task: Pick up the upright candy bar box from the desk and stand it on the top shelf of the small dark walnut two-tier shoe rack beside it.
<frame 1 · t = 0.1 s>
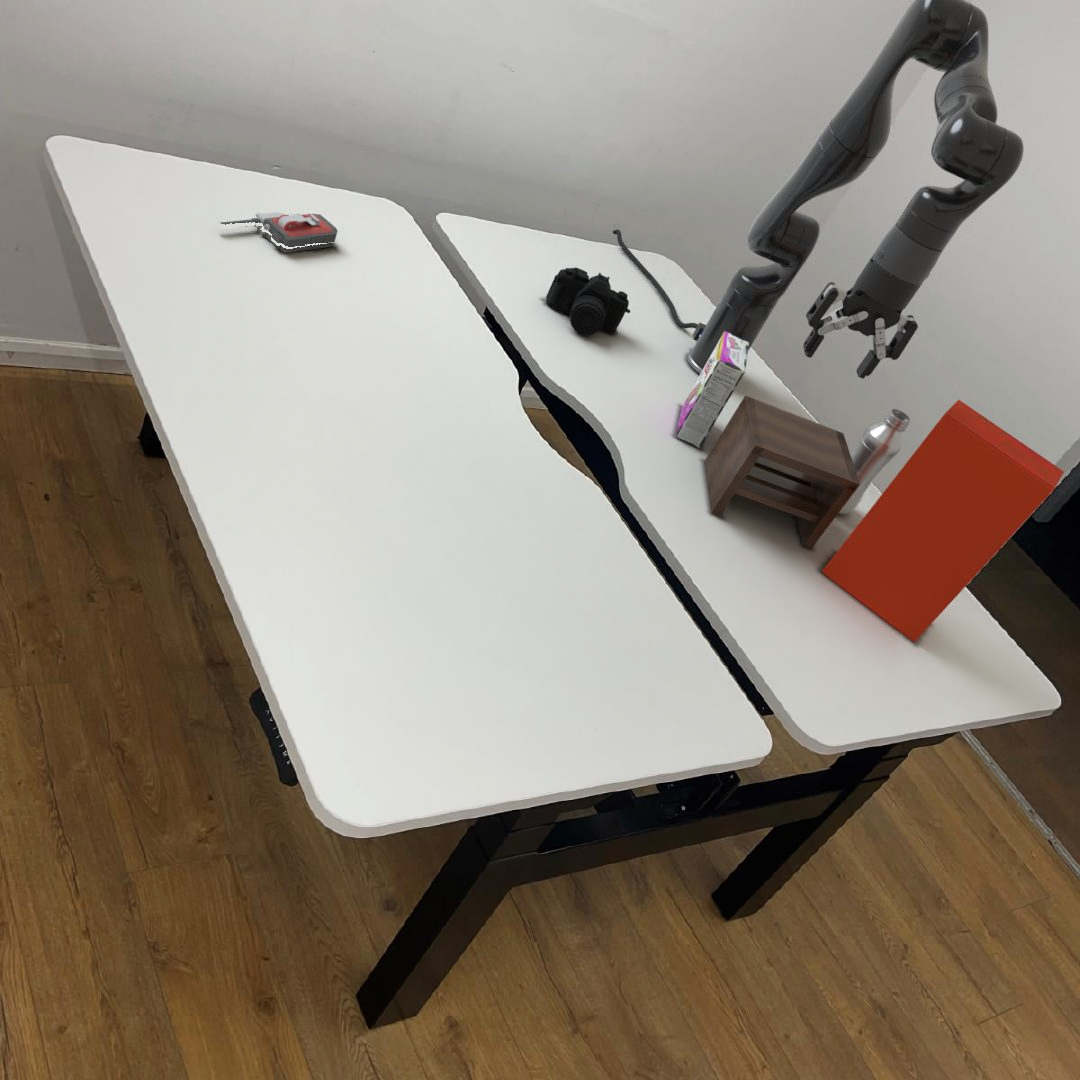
hand: (833, 364, 149), 29 cm above the table, tool pointing down, fingers open, 8 cm apart
shoe rack: (756, 504, 171), on the table
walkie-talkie: (279, 239, 174), on the table
film camera: (578, 324, 194), on the table
candy bar box: (688, 428, 181), on the table
silver metal bottle: (832, 506, 181), on the table
file binder: (873, 598, 164), on the table
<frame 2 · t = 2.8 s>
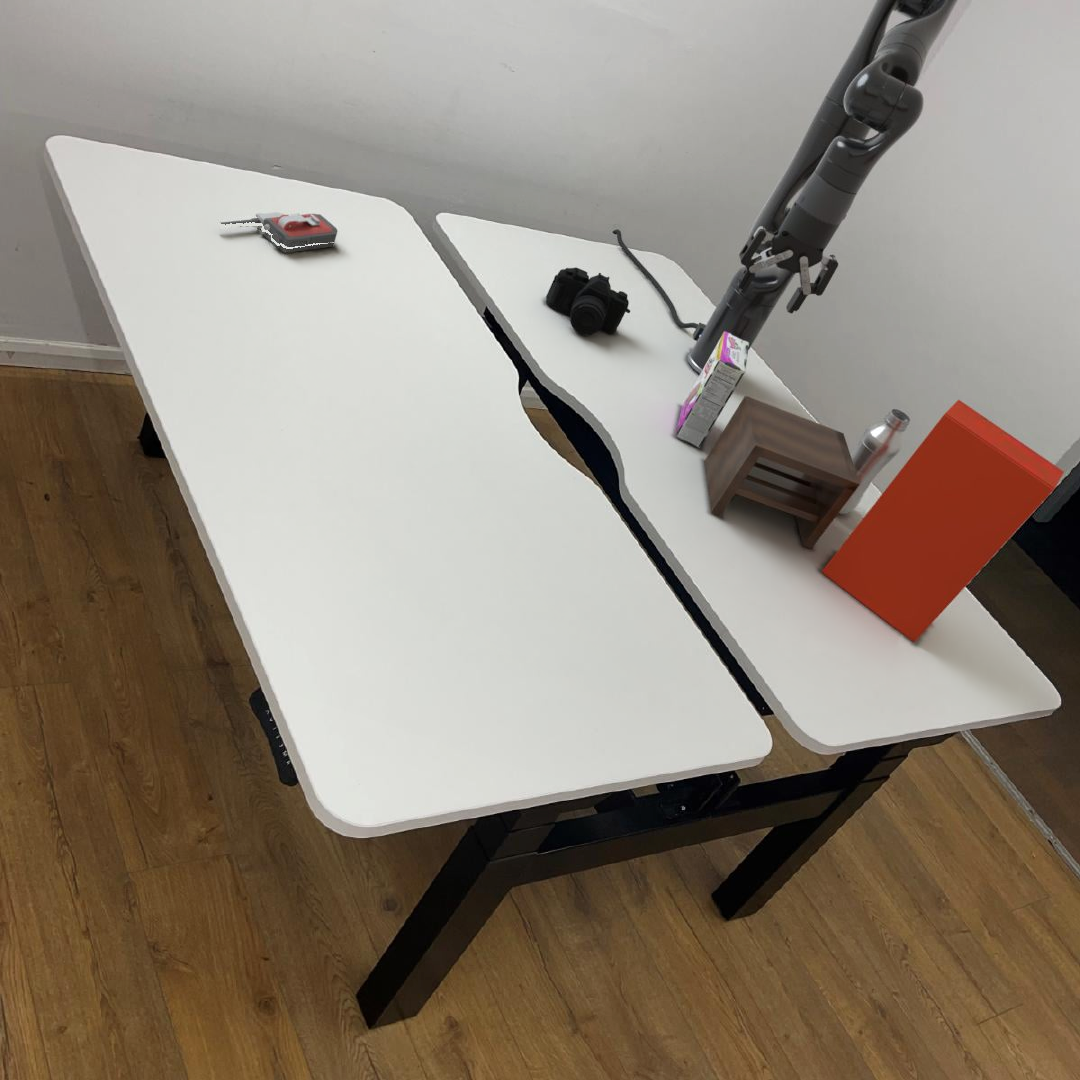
hand: (764, 301, 166), 26 cm above the table, tool pointing down, fingers open, 8 cm apart
nothing on the table moved.
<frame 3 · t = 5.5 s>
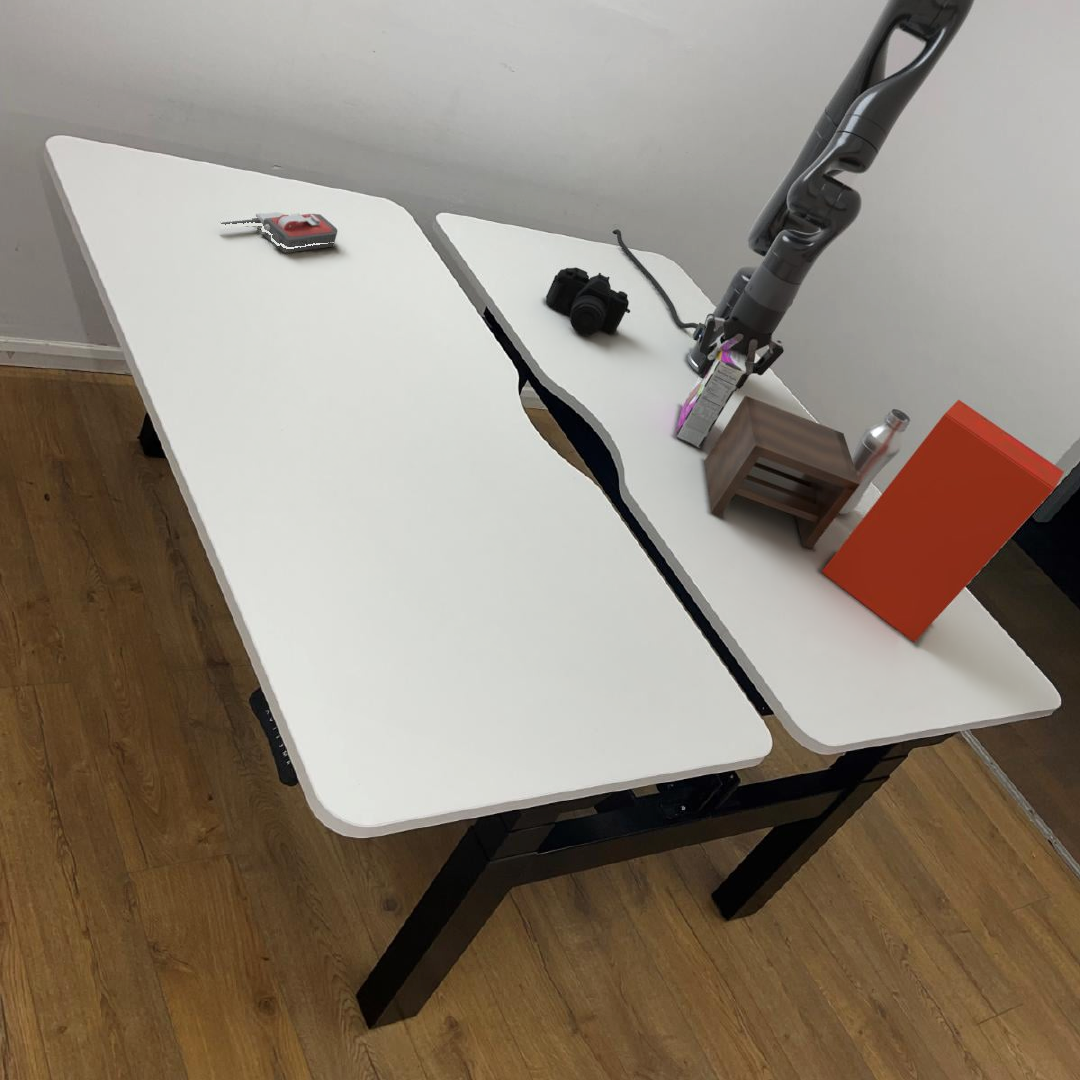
hand: (716, 381, 175), 10 cm above the table, tool pointing down, fingers closed on candy bar box, 5 cm apart
candy bar box: (688, 428, 181), on the table, touching gripper
everything else where it was.
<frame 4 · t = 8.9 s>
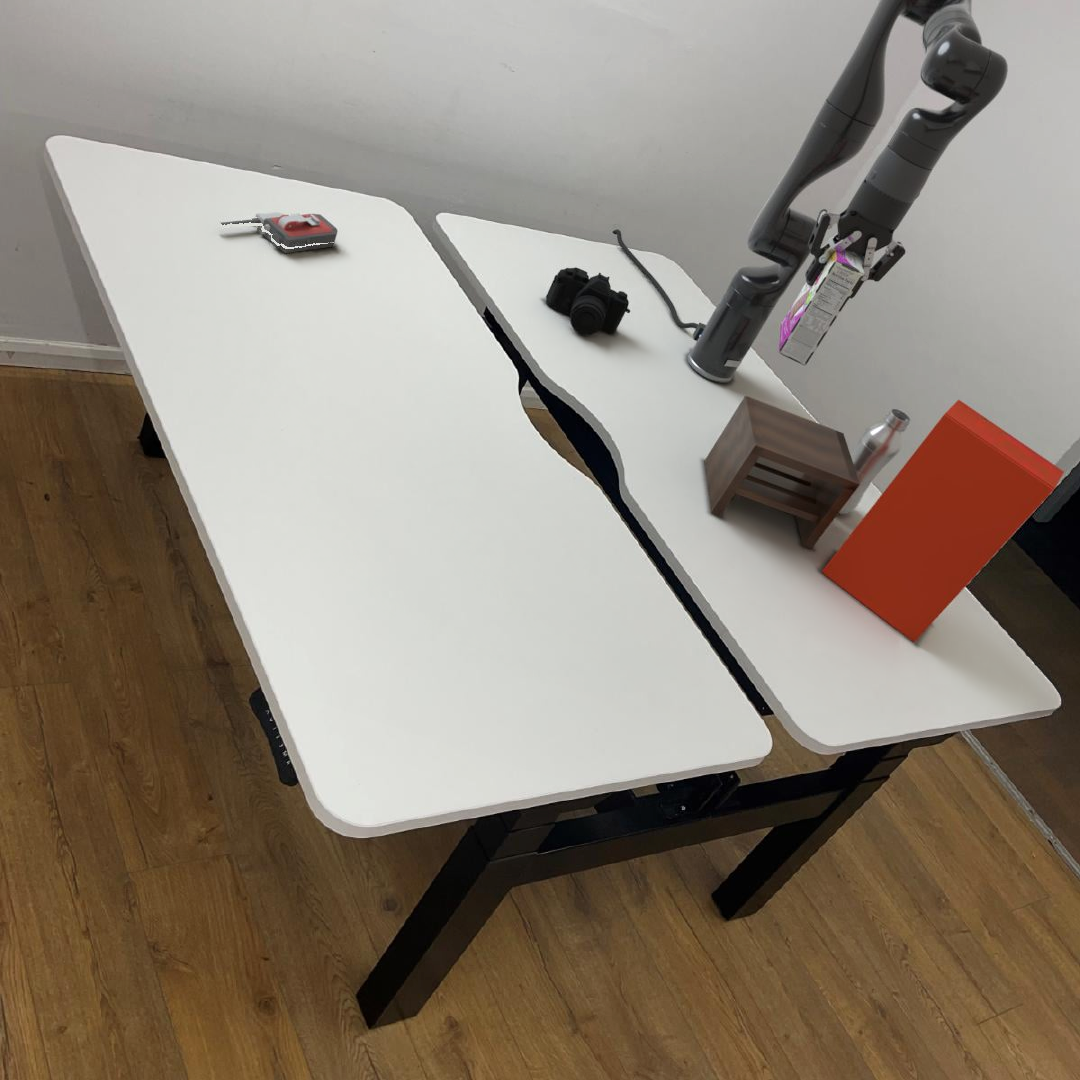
hand: (826, 290, 156), 34 cm above the table, tool pointing down, fingers closed on candy bar box, 5 cm apart
candy bar box: (790, 346, 162), point 24 cm above the table, touching gripper
everything else where it was.
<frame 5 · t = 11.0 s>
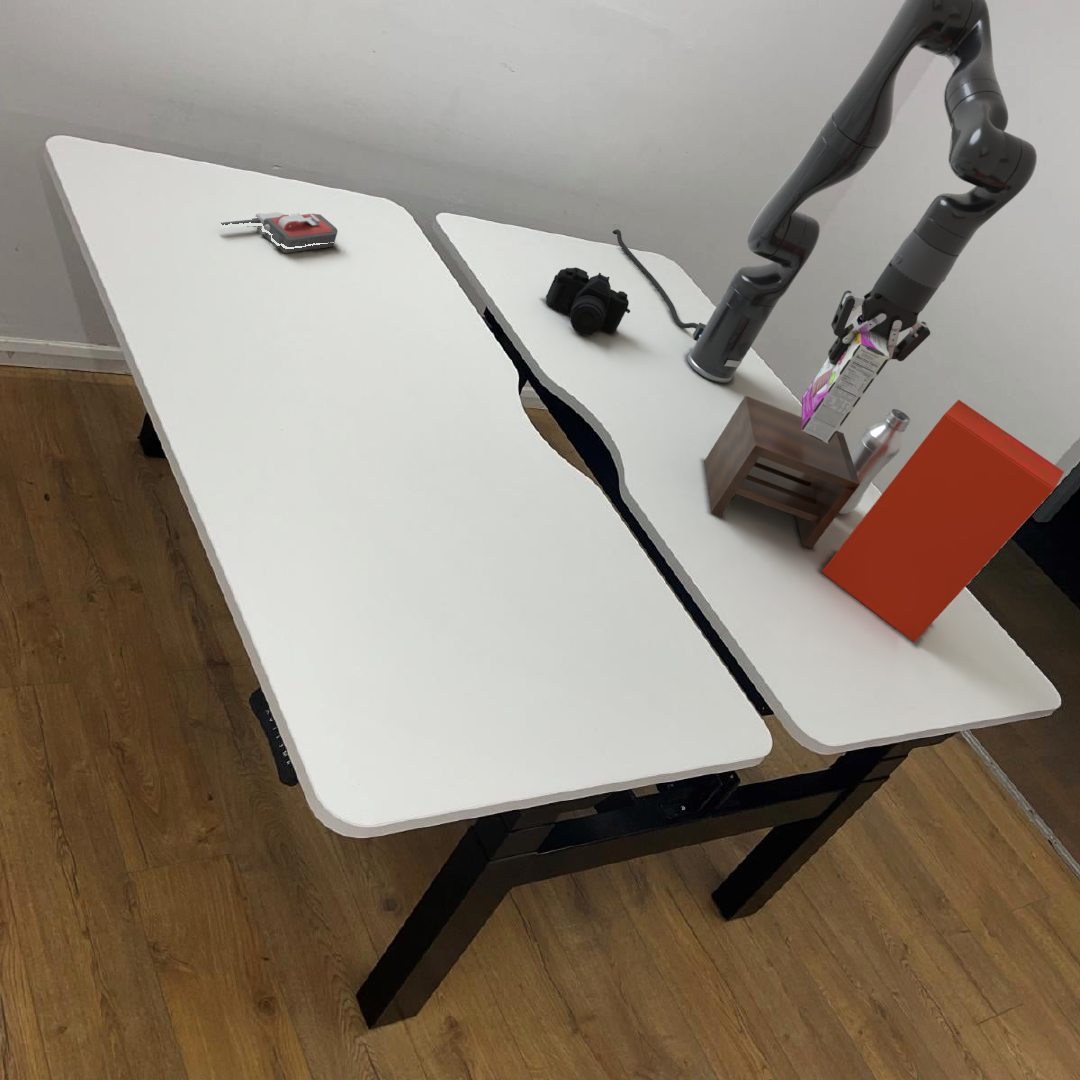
hand: (849, 368, 155), 28 cm above the table, tool pointing down, fingers closed on candy bar box, 5 cm apart
candy bar box: (812, 421, 161), point 17 cm above the table, touching gripper
everything else where it was.
when the fingers open (24 cm above the table, at t = 12.4 s): candy bar box stays where it is, resting on shoe rack.
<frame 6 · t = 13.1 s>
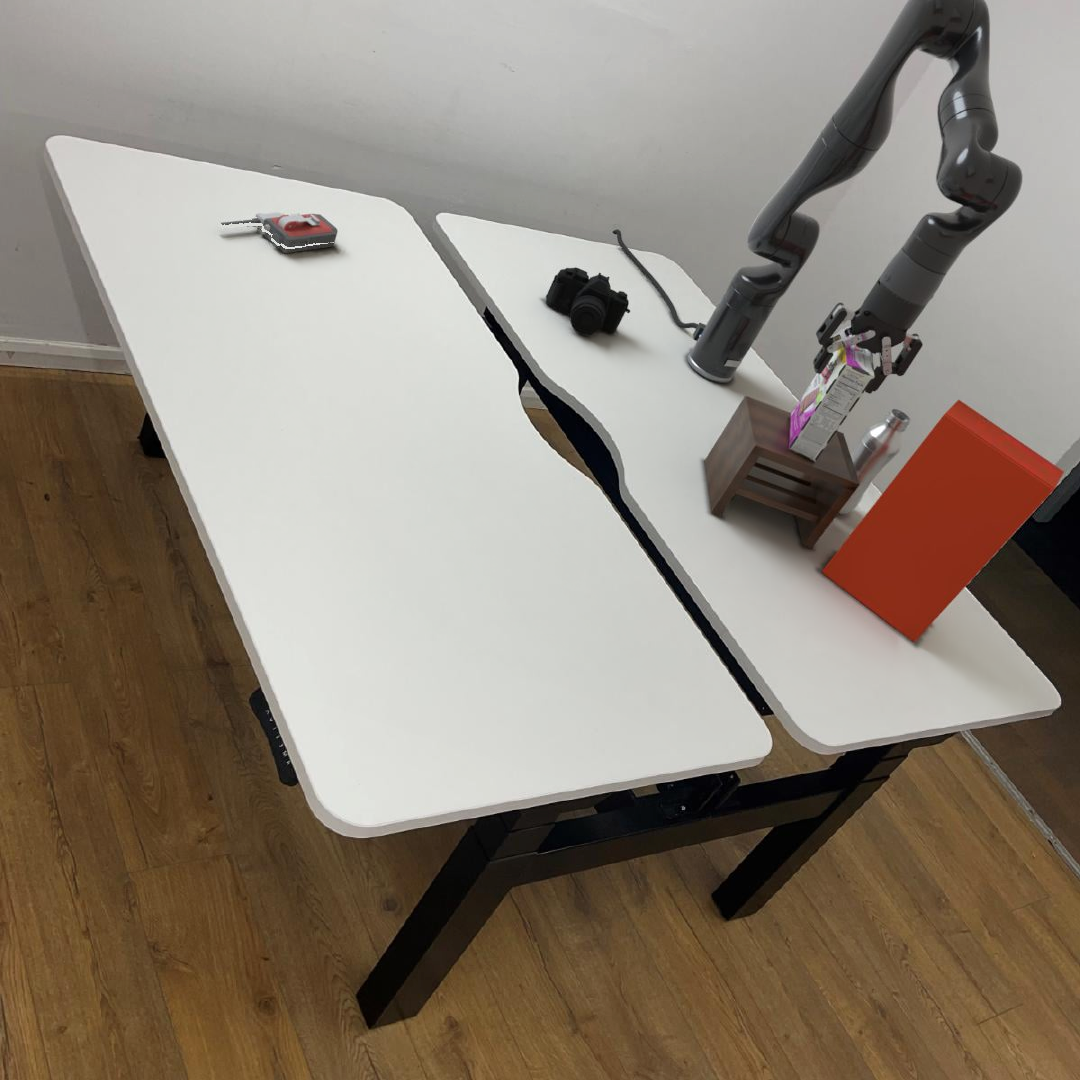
hand: (841, 380, 156), 25 cm above the table, tool pointing down, fingers open, 8 cm apart
candy bar box: (800, 439, 163), point 14 cm above the table, touching shoe rack
everything else where it was.
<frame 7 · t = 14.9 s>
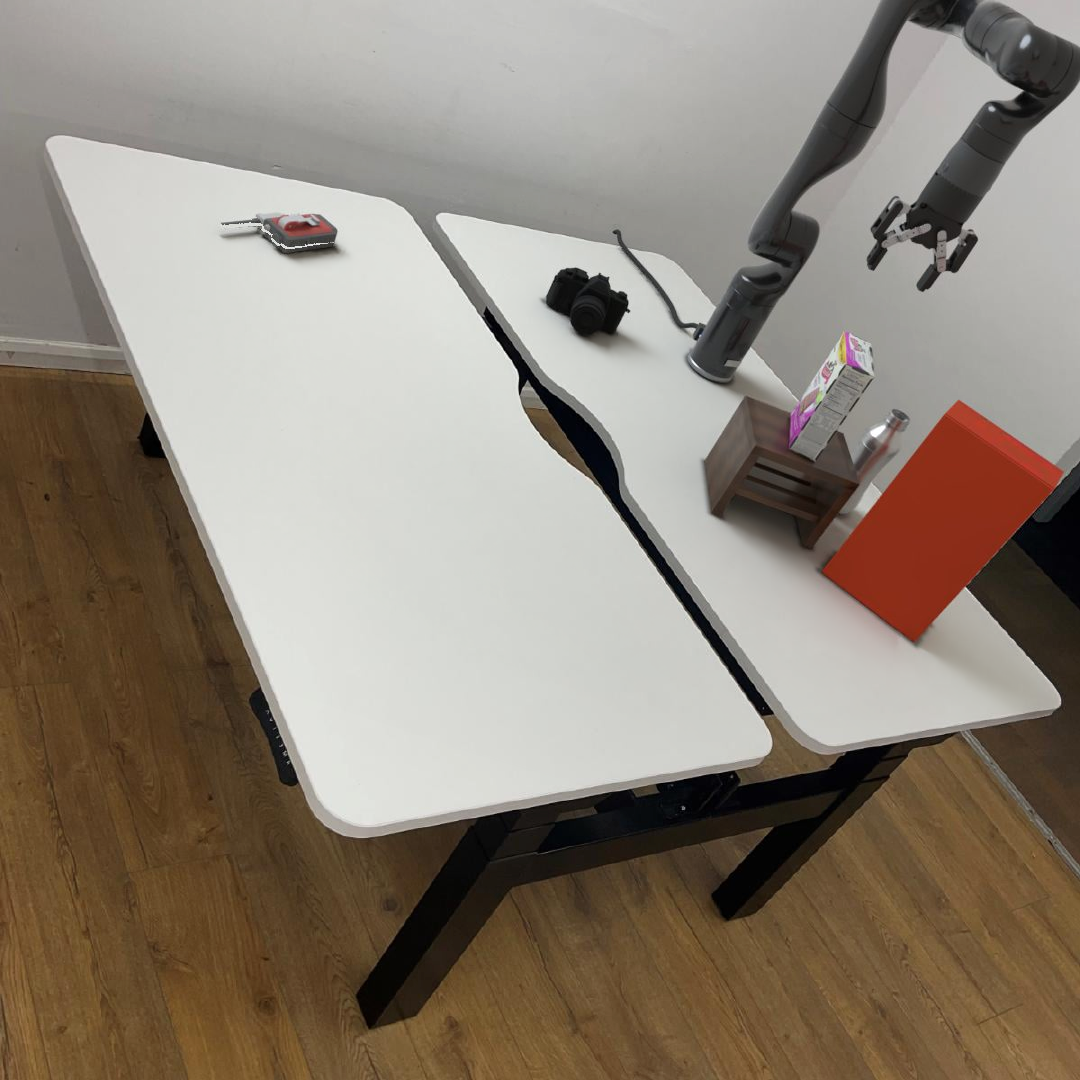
hand: (894, 278, 155), 39 cm above the table, tool pointing down, fingers open, 8 cm apart
nothing on the table moved.
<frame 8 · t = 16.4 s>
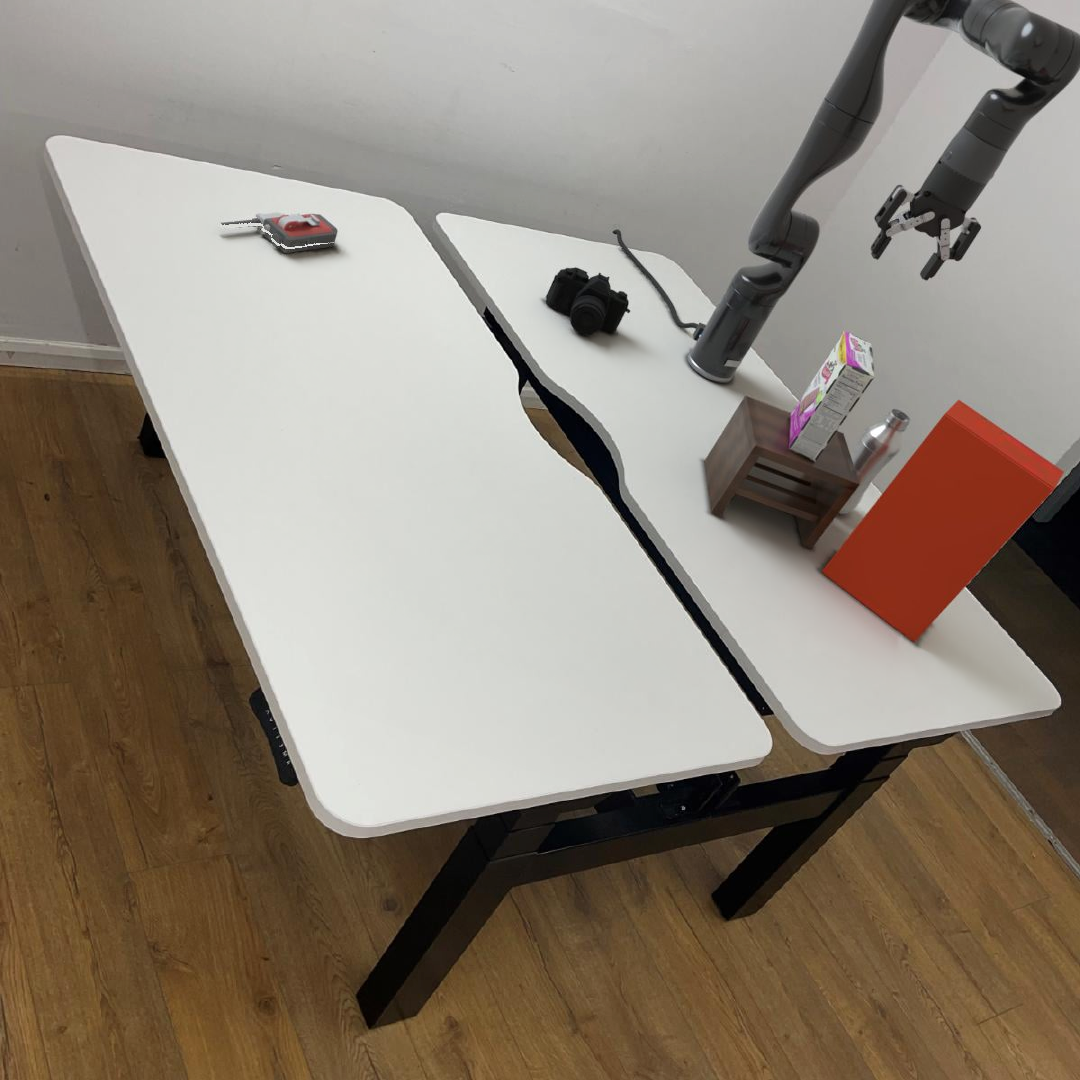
hand: (898, 267, 157), 40 cm above the table, tool pointing down, fingers open, 8 cm apart
nothing on the table moved.
at the end: candy bar box inside the target area on the shoe rack (0.1 cm from its centre), point 13.8 cm above the shoe rack's base; candy bar box tilted 0°; the gripper is holding nothing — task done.
